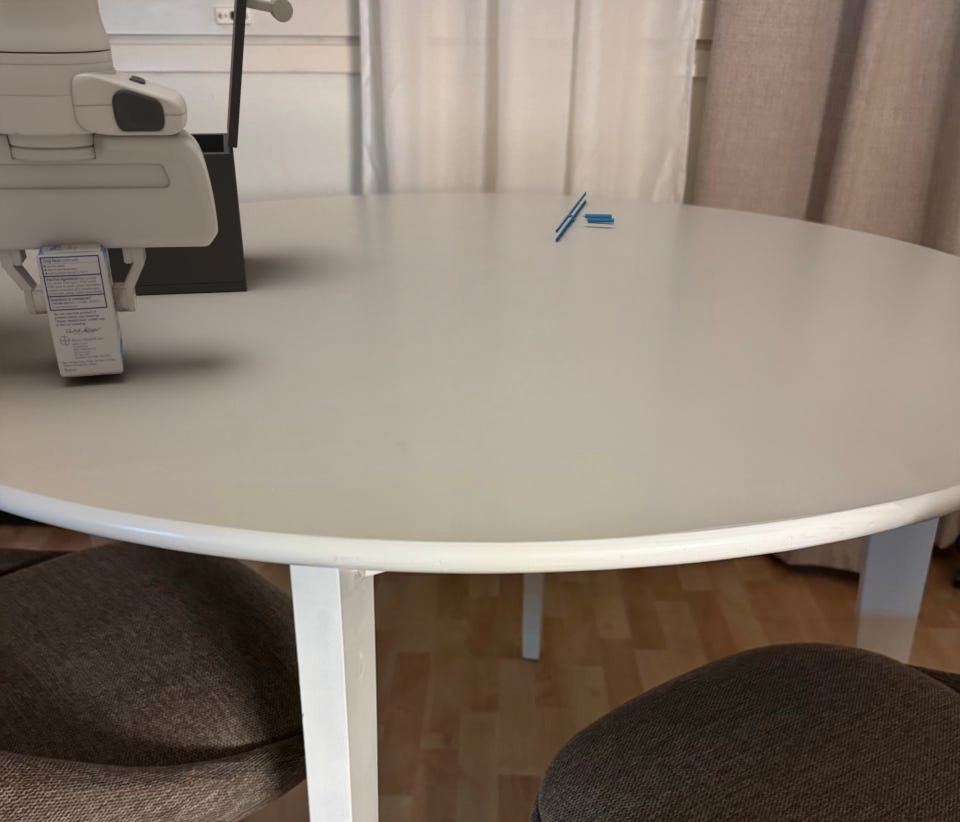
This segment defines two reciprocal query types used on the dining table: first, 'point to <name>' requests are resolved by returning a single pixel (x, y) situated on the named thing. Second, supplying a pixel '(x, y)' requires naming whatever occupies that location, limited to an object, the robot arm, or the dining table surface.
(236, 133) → the lid
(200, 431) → the dining table surface
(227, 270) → the box
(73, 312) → the medicine box
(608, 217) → the chopsticks
